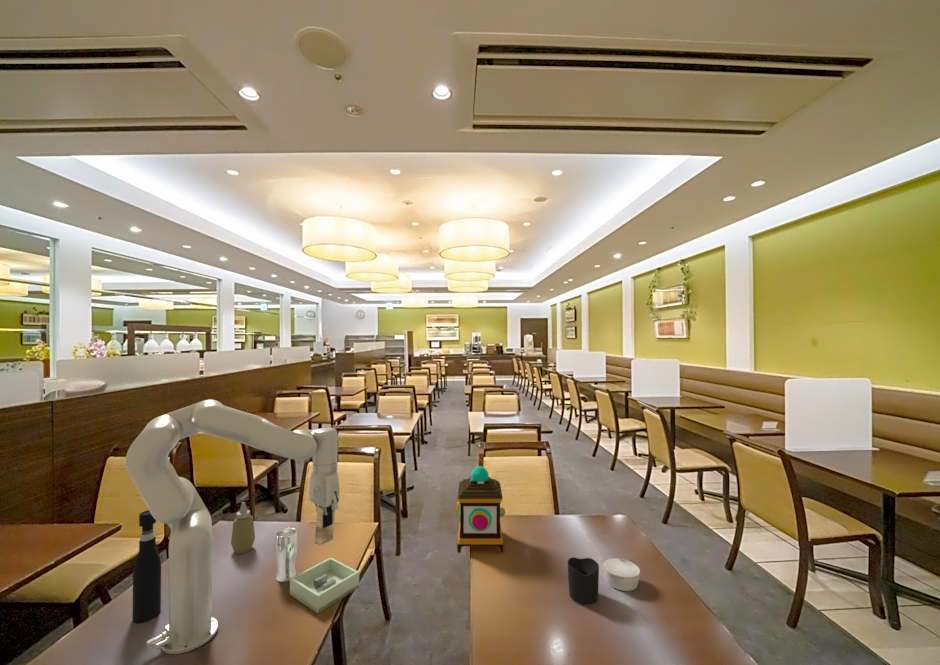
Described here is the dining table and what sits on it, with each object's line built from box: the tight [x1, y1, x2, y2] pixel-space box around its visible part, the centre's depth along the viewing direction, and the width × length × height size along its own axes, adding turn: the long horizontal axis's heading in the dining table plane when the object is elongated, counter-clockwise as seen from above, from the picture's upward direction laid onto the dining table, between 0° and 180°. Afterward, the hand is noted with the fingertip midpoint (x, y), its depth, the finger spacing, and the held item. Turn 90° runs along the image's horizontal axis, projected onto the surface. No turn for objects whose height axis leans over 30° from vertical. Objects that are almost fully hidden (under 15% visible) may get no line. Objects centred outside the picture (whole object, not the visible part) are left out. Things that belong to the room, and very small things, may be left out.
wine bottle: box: [132, 509, 162, 624], centre depth 117 cm, size 6×6×30 cm
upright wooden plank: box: [314, 506, 336, 546], centre depth 129 cm, size 5×2×11 cm, turn 145°
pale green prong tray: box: [289, 557, 360, 614], centre depth 128 cm, size 15×15×5 cm
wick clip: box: [314, 574, 336, 591], centre depth 128 cm, size 4×6×2 cm
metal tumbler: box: [274, 527, 298, 583], centre depth 136 cm, size 7×7×15 cm
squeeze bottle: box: [230, 501, 256, 554], centre depth 154 cm, size 8×8×18 cm
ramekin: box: [603, 557, 641, 592], centre depth 132 cm, size 11×11×5 cm
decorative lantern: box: [454, 465, 506, 554], centre depth 159 cm, size 20×20×30 cm
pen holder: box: [567, 556, 600, 605], centre depth 125 cm, size 9×9×10 cm
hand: (324, 524), depth 129 cm, fingers closed on upright wooden plank, 2 cm apart
